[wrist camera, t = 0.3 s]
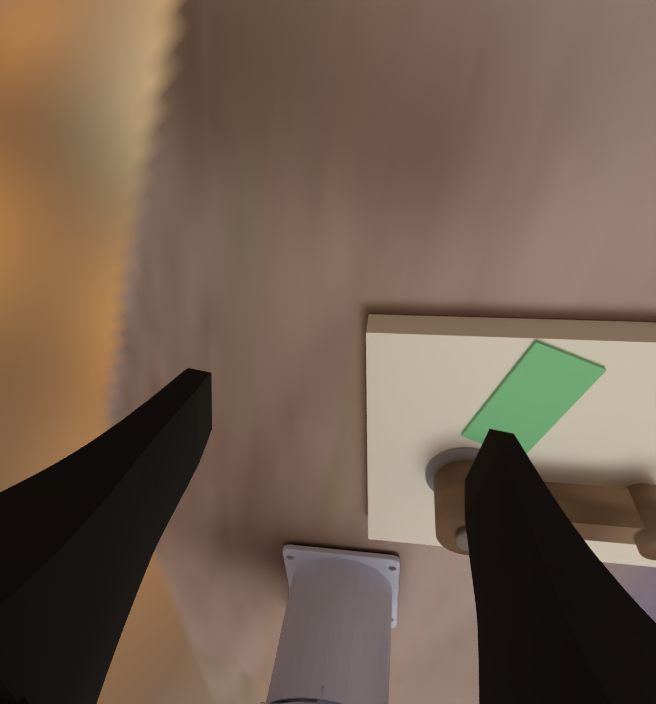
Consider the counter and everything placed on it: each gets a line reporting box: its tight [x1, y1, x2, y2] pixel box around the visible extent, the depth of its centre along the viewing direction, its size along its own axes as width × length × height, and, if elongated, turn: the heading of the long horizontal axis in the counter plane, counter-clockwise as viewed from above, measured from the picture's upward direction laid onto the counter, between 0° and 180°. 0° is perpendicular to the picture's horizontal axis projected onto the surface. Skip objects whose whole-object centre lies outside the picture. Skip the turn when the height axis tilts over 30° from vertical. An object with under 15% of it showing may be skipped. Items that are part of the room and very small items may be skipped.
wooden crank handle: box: [434, 461, 656, 560], centre depth 22 cm, size 10×3×3 cm, turn 93°
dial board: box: [366, 314, 656, 567], centre depth 24 cm, size 15×20×2 cm
